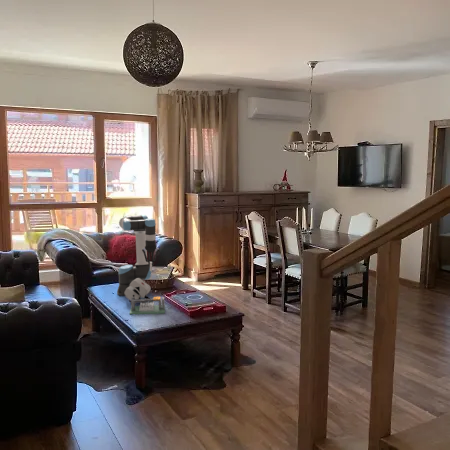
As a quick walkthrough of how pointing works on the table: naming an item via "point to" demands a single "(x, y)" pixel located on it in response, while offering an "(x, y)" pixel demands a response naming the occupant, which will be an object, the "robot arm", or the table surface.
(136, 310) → the board
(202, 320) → the table surface
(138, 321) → the table surface
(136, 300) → the strap
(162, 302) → the lug
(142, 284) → the robotic device
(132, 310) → the forked tab bracket
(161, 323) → the table surface
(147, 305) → the heatsink
